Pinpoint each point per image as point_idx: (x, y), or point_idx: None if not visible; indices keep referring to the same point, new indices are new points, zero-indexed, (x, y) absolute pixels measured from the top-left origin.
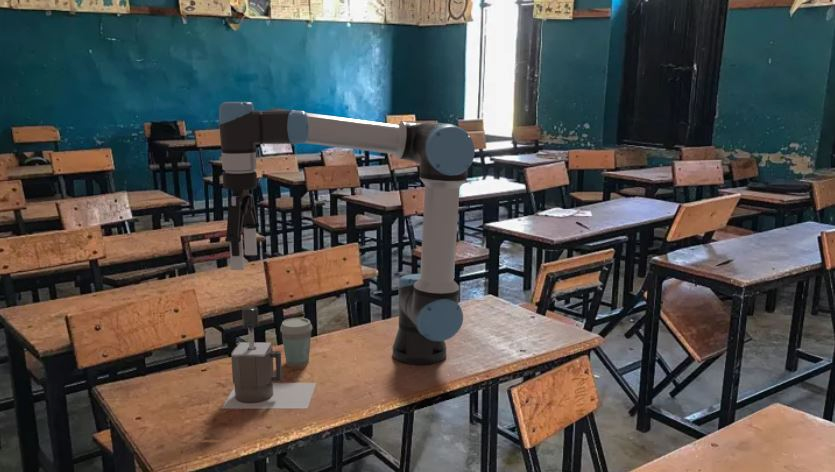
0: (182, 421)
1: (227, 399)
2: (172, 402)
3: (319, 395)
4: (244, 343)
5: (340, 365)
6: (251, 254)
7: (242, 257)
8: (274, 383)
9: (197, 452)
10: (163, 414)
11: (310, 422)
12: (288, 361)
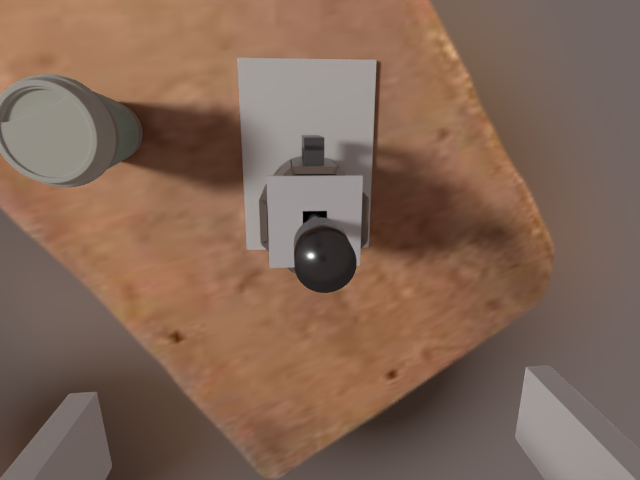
0: (408, 301)
1: None
2: (332, 343)
3: (297, 42)
4: (277, 253)
5: (103, 3)
6: (102, 429)
7: (623, 434)
8: (245, 165)
9: (520, 240)
10: (380, 341)
11: (430, 45)
12: (133, 151)
